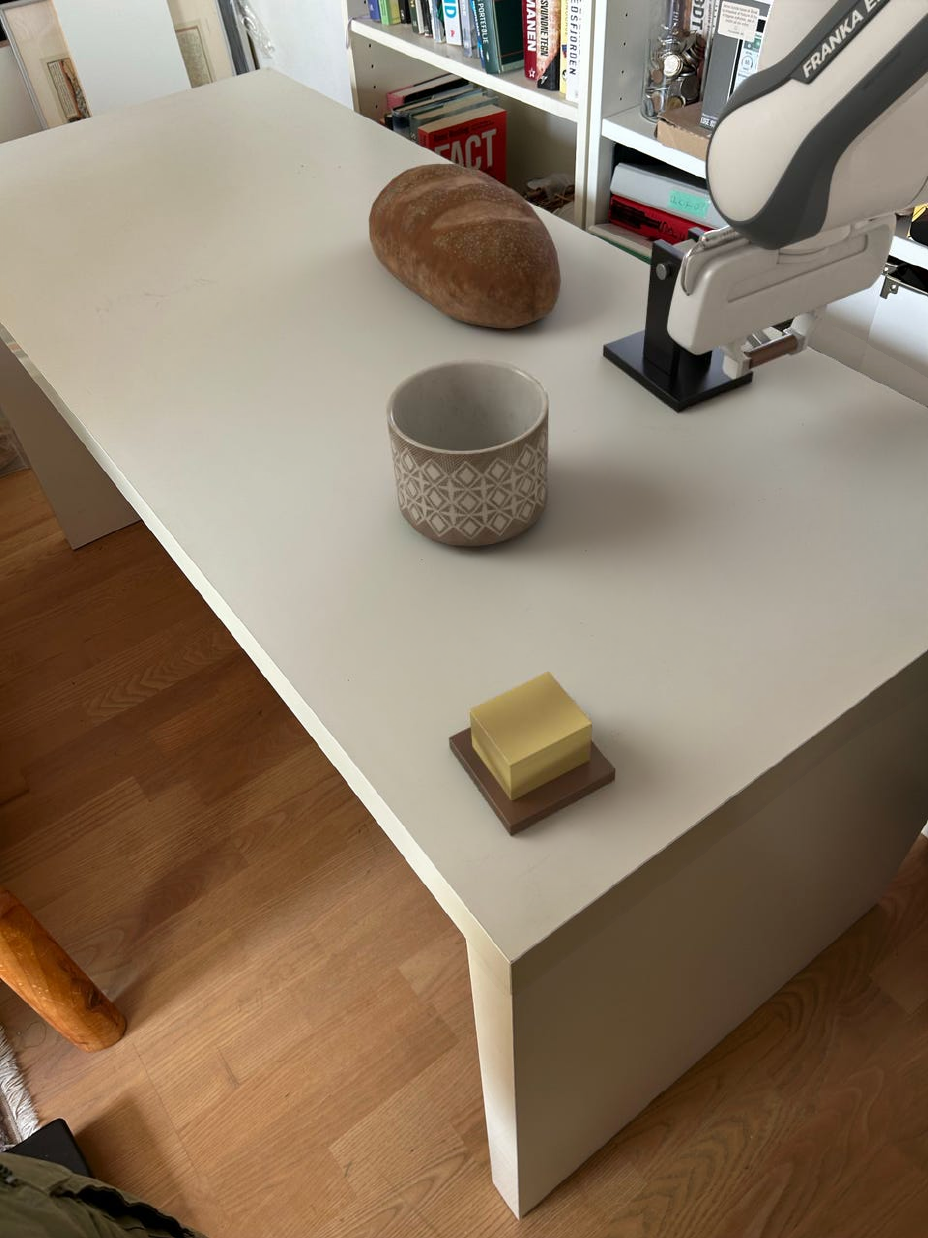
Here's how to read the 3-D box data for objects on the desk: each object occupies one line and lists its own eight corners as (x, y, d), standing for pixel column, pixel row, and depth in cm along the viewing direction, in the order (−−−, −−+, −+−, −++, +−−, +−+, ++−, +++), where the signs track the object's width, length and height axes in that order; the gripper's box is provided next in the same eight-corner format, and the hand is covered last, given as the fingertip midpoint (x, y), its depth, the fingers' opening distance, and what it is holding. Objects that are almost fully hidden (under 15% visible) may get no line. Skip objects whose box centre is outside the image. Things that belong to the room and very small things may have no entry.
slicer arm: (792, 358, 84) (802, 338, 82) (747, 376, 82) (756, 356, 80) (696, 255, 89) (704, 233, 87) (653, 270, 88) (659, 249, 86)
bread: (472, 356, 99) (466, 249, 90) (342, 250, 116) (327, 153, 108) (595, 307, 104) (599, 202, 95) (453, 213, 121) (446, 117, 113)
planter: (440, 447, 88) (431, 346, 81) (569, 479, 84) (572, 376, 77) (373, 533, 81) (356, 431, 73) (512, 572, 77) (508, 469, 69)
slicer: (752, 382, 93) (775, 254, 83) (677, 413, 90) (692, 284, 81) (674, 328, 100) (687, 205, 91) (602, 355, 97) (608, 232, 88)
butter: (615, 780, 63) (620, 732, 59) (510, 836, 61) (508, 791, 57) (548, 698, 68) (549, 650, 64) (449, 747, 66) (443, 700, 62)
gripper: (714, 257, 68) (691, 419, 78) (924, 182, 74) (878, 341, 84) (659, 224, 72) (644, 383, 82) (863, 155, 78) (826, 311, 88)
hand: (764, 361), depth 83 cm, fingers closed on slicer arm, 5 cm apart
